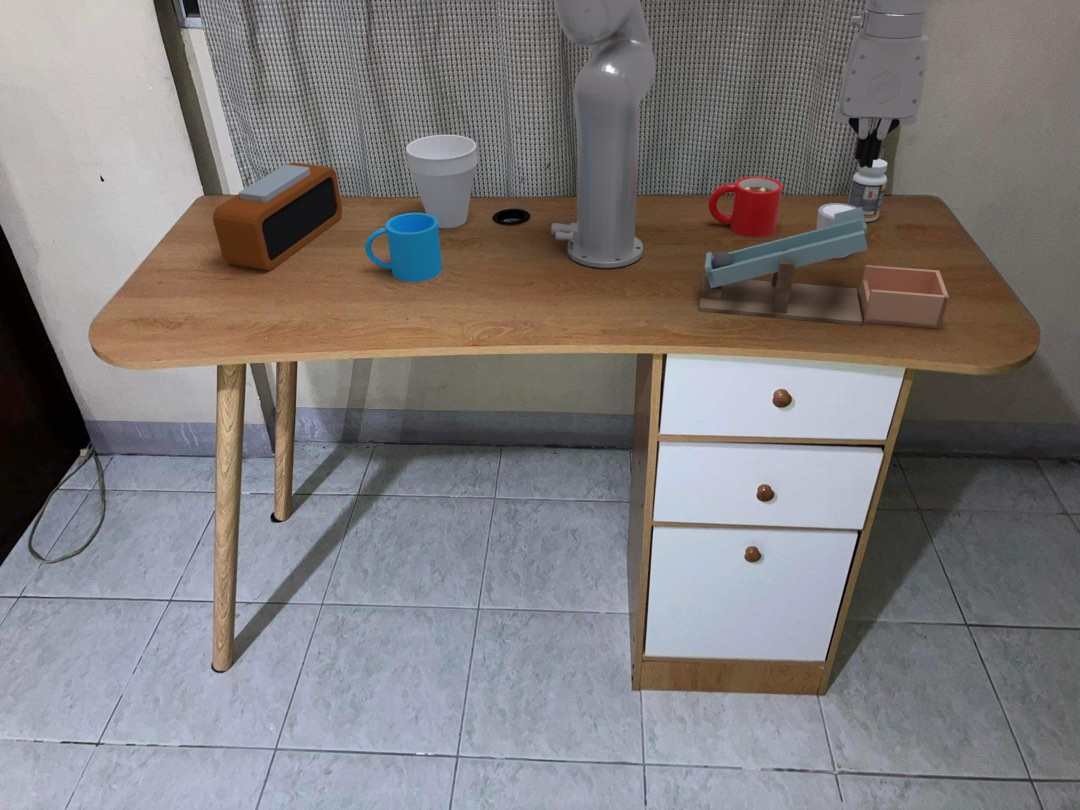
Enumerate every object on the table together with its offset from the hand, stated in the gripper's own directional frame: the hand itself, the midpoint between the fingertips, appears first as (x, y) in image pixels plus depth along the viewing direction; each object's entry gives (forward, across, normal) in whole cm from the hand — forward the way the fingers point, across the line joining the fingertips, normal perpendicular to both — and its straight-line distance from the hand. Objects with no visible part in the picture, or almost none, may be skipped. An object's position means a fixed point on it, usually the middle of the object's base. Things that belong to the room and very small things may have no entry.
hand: (864, 164), depth 117 cm
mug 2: (+19, -15, +19) cm, 31 cm away
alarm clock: (+18, -93, 0) cm, 94 cm away
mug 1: (+18, -68, -7) cm, 71 cm away
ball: (+13, -18, -7) cm, 23 cm away
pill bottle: (+19, +6, +27) cm, 34 cm away
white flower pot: (+18, -67, +13) cm, 71 cm away
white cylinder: (+19, 0, +12) cm, 23 cm away
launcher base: (+19, -10, -7) cm, 22 cm away
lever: (+12, -9, -3) cm, 16 cm away
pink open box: (+19, +8, -7) cm, 22 cm away
